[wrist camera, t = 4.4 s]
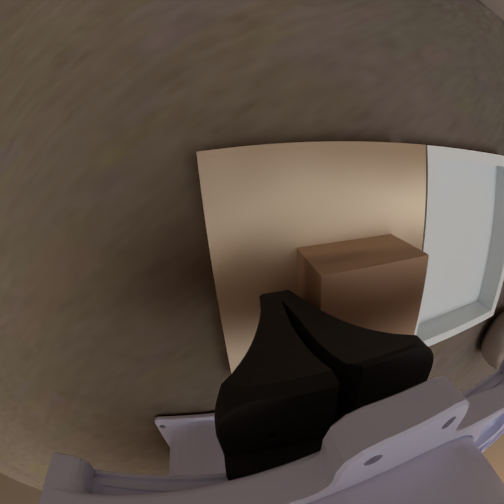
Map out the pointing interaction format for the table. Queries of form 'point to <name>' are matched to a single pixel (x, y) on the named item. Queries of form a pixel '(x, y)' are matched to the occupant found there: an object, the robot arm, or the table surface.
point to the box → (461, 241)
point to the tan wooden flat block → (299, 214)
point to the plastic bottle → (494, 342)
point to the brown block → (365, 281)
